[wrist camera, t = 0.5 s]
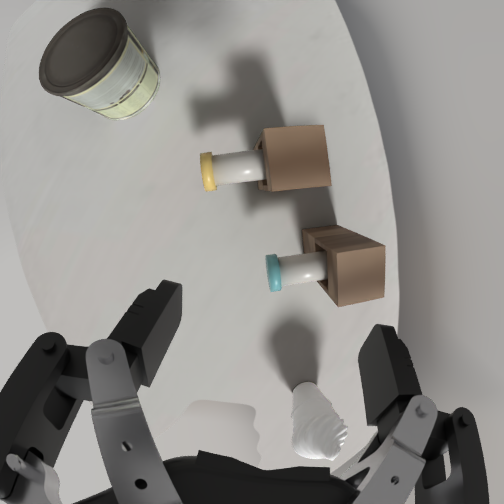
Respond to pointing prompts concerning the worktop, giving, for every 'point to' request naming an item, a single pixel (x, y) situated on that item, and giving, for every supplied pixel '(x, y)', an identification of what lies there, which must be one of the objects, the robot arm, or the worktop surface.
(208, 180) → the ochre button
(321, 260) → the teal button
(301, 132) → the walnut box
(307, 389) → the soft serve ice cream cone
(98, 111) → the coffee can
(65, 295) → the worktop surface
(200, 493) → the robot arm
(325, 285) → the walnut box
